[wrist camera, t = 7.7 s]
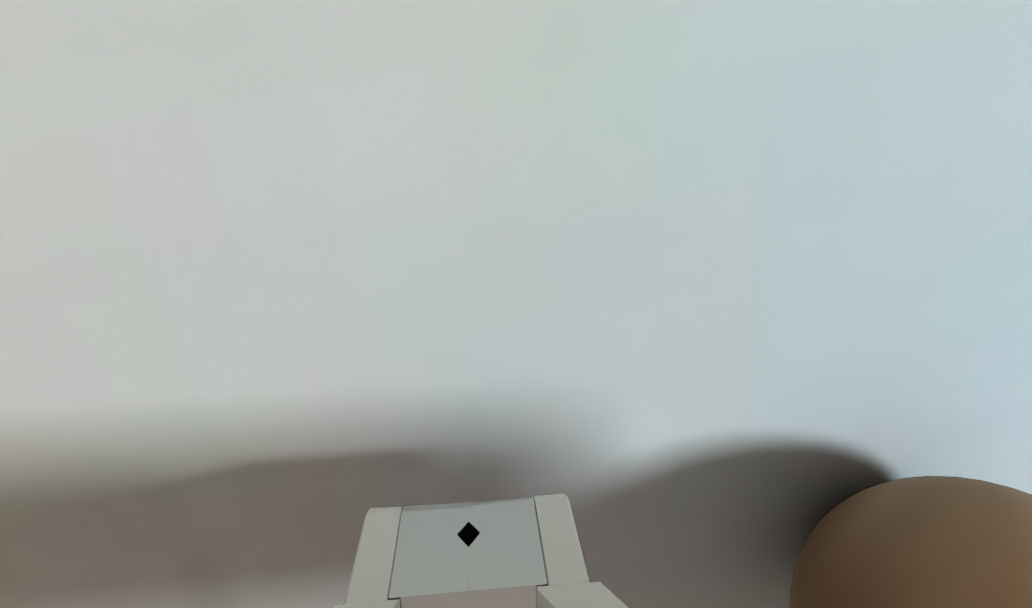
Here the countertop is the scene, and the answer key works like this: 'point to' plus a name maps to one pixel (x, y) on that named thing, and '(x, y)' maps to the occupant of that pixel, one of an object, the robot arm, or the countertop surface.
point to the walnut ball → (920, 548)
